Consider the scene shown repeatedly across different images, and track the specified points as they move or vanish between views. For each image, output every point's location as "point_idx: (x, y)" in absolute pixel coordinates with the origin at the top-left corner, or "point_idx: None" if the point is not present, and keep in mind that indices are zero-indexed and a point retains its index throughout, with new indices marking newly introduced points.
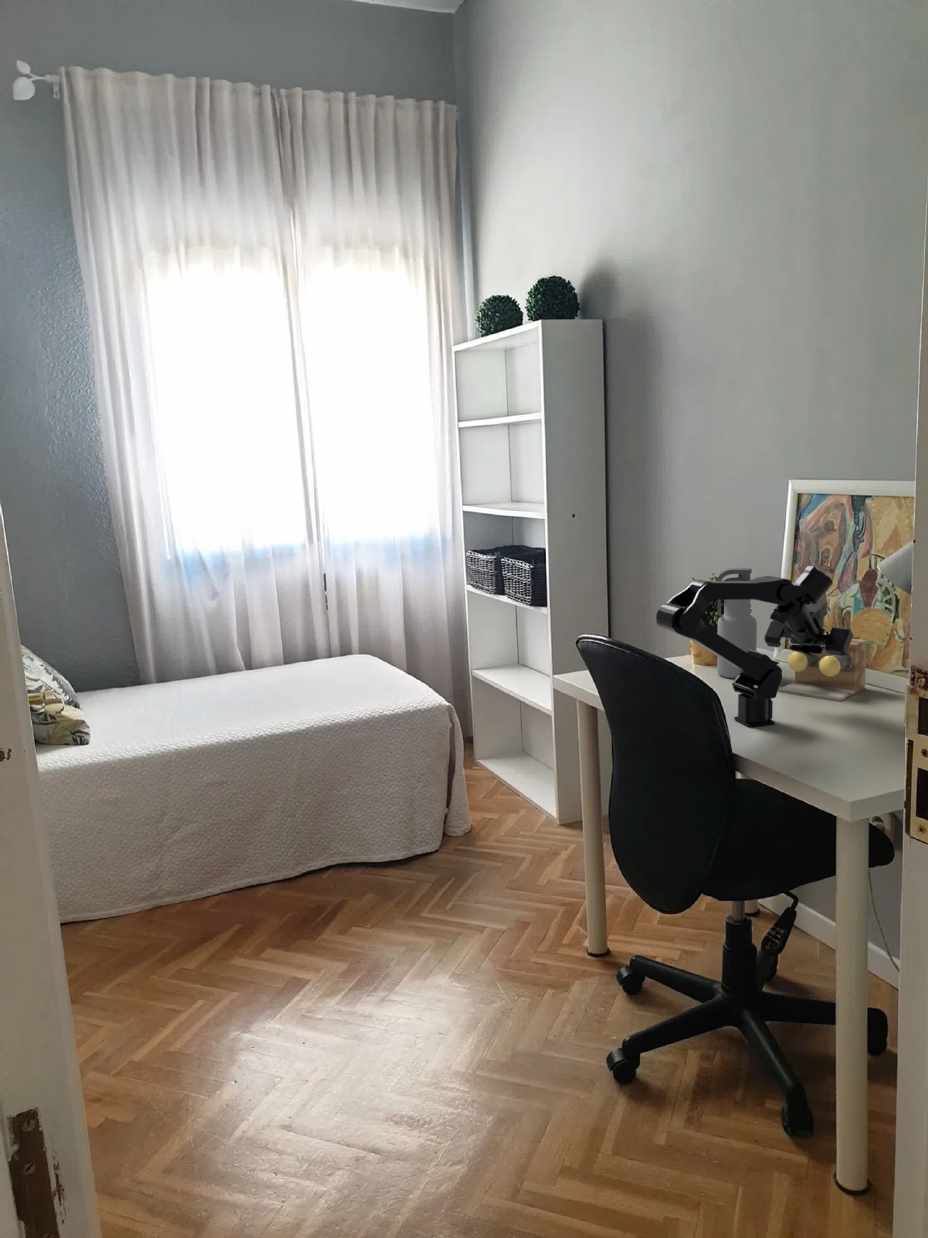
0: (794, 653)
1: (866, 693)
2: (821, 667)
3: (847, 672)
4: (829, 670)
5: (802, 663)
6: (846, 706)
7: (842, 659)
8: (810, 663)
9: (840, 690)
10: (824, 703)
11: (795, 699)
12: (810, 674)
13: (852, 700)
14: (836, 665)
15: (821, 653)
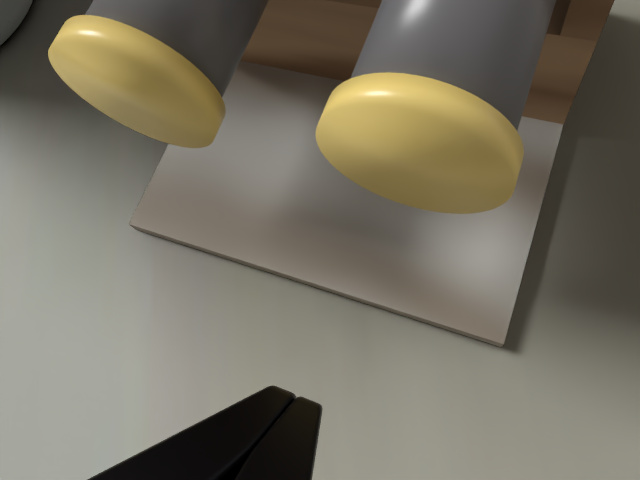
0: (73, 49)
1: (629, 101)
2: (342, 160)
3: None
4: (416, 184)
5: (181, 114)
6: (576, 463)
7: (527, 26)
8: (248, 40)
9: None
10: (415, 422)
11: (229, 373)
12: (277, 30)
13: (581, 288)
14: (488, 176)
15: (316, 444)
